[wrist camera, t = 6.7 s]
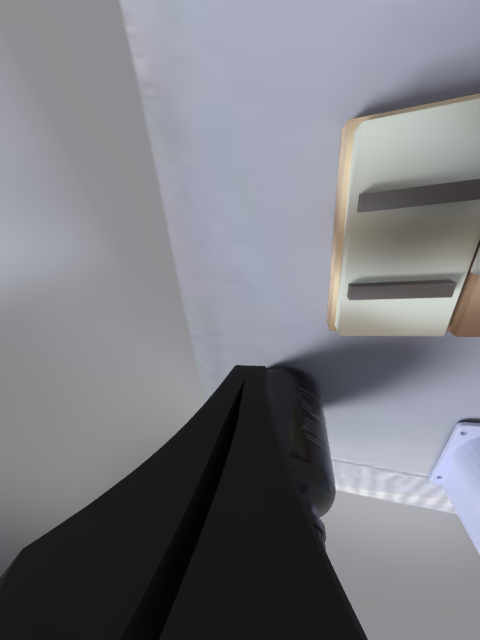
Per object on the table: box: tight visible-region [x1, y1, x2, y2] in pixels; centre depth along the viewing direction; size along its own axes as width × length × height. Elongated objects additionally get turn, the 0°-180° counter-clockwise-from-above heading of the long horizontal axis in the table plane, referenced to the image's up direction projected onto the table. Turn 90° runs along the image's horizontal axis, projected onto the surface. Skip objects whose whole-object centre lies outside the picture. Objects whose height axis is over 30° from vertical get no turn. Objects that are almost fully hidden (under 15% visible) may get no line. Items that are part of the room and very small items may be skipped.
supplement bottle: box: [268, 368, 336, 551], centre depth 16 cm, size 7×7×12 cm
